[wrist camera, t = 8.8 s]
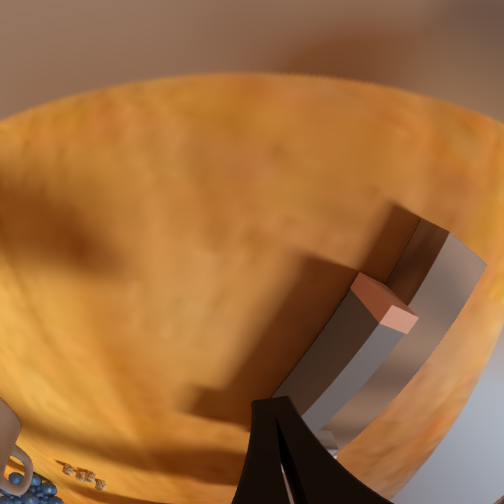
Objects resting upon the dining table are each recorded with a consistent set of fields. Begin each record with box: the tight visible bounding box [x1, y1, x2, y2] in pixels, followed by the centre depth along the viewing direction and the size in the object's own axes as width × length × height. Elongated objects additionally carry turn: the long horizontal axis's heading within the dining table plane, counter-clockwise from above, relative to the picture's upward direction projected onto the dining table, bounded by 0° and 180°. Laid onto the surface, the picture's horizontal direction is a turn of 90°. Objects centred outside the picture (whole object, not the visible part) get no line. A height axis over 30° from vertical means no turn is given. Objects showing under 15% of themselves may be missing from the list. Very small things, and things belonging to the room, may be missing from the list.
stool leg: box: [271, 272, 419, 435], centre depth 18 cm, size 15×3×4 cm, turn 153°
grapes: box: [0, 472, 64, 504], centre depth 21 cm, size 12×7×12 cm, turn 53°
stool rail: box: [281, 218, 487, 473], centre depth 18 cm, size 22×10×5 cm, turn 155°
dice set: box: [62, 464, 106, 491], centre depth 25 cm, size 5×5×2 cm
